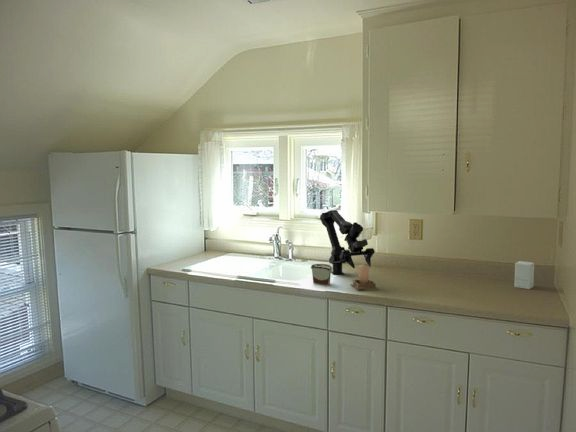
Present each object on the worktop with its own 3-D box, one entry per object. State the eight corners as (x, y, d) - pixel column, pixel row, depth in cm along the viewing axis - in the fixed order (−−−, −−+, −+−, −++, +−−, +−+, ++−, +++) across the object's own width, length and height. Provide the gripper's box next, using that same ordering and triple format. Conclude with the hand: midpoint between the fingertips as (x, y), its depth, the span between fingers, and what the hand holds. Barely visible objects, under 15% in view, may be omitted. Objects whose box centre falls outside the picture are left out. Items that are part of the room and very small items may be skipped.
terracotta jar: (358, 284, 231) (358, 264, 229) (368, 285, 230) (368, 264, 229) (359, 287, 226) (359, 266, 225) (369, 287, 225) (369, 266, 224)
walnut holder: (350, 285, 232) (350, 279, 232) (369, 284, 234) (369, 278, 234) (357, 291, 221) (357, 285, 221) (378, 289, 224) (378, 283, 223)
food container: (336, 283, 237) (336, 265, 236) (330, 286, 232) (330, 267, 231) (316, 280, 244) (316, 262, 242) (310, 282, 239) (310, 264, 237)
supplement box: (533, 286, 225) (535, 262, 224) (529, 289, 220) (530, 265, 219) (518, 284, 231) (519, 260, 229) (513, 286, 225) (514, 262, 224)
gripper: (341, 235, 231) (351, 260, 221) (373, 233, 236) (383, 257, 227) (335, 247, 239) (344, 271, 230) (366, 245, 245) (375, 268, 236)
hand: (362, 267), depth 230 cm, fingers open, 9 cm apart
